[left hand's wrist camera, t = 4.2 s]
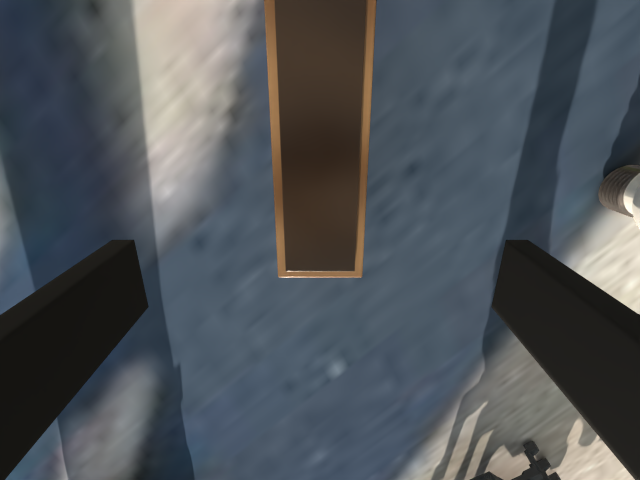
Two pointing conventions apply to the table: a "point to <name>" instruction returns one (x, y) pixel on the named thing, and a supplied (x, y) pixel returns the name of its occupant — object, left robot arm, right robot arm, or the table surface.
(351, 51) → the tray
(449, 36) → the table surface
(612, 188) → the light bulb
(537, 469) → the toy
